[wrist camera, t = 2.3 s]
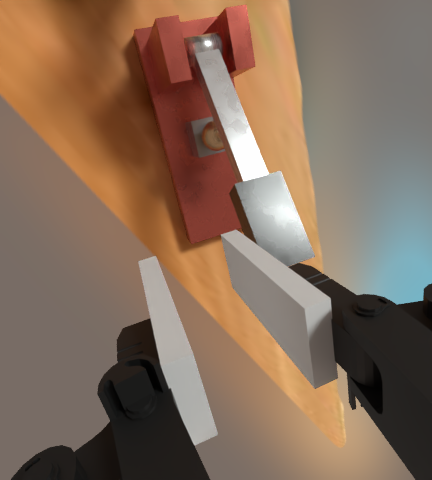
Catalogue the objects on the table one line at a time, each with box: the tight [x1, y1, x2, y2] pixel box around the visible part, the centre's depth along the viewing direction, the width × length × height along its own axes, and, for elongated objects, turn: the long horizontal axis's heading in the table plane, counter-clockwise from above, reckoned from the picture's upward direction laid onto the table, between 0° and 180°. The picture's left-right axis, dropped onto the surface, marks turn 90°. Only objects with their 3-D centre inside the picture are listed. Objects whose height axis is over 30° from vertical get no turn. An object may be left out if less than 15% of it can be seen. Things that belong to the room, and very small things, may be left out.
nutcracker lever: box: [184, 32, 315, 267], centre depth 28 cm, size 23×4×2 cm, turn 13°
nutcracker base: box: [133, 5, 255, 244], centre depth 36 cm, size 25×10×10 cm, turn 13°
